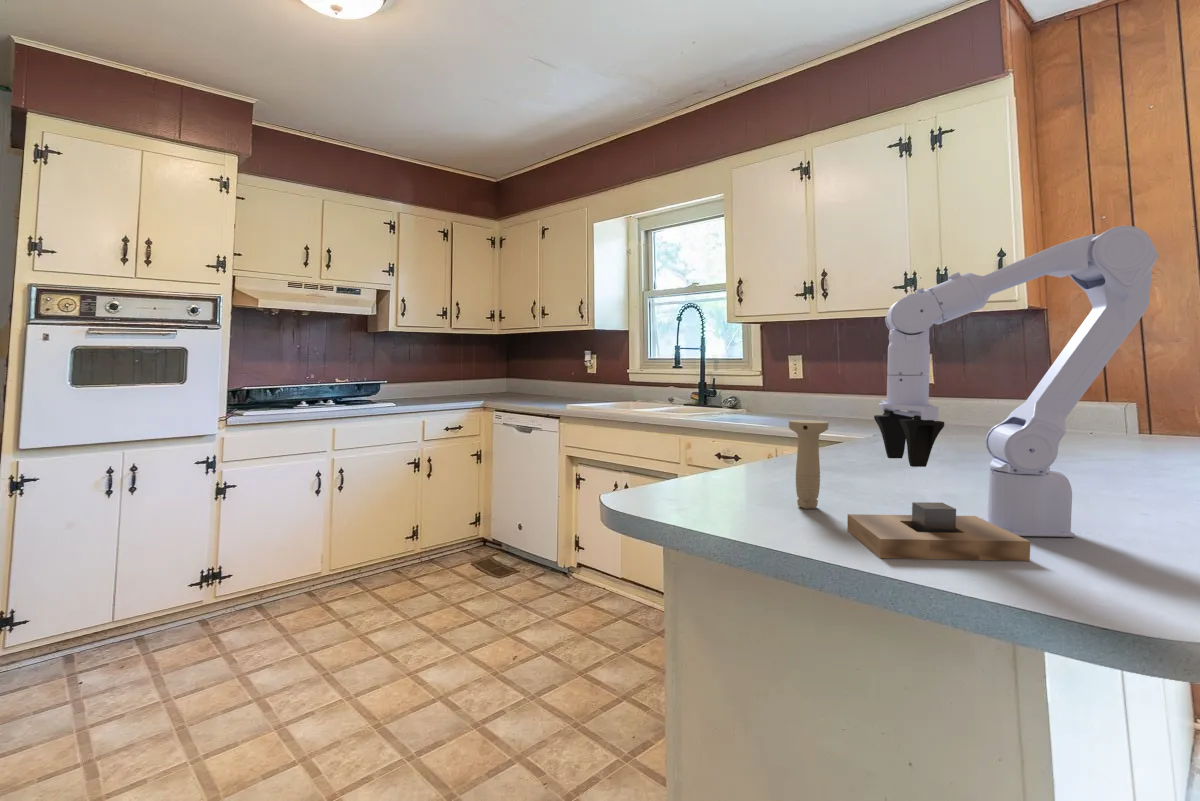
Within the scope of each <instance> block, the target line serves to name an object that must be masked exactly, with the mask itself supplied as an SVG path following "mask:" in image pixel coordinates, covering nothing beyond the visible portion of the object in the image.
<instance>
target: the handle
mask: <svg viewBox="0 0 1200 801" xmlns="http://www.w3.org/2000/svg"><path fill="white" fill-rule="evenodd" d="M829 423H830V422H829V421H825V420H815V419H813V420H812V419H810V420H809V419H793V420H792V419H791V420H788V428H789V429H790V431H792V432H794V433H796V434H797V453H796V467H795V491H796V495H797V496H796V497H797V498H798V499H797V500H796V501H797V502H796V503H797V507H799V508H802V509H805V510H808V509H809V510H810V509H811V510H812V509H813V510H814V509H817V507H818V504H819V500H818V499H819V495H820V494H819V493H820V489H821V488H820V487H821V467H820V466H821V465H820V449H819V448H820V444H819V443H820V441H819V440H820V435H821V434H823V433H825V432H826V431H828V429H829Z"/></svg>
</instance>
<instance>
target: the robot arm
mask: <svg viewBox="0 0 1200 801" xmlns="http://www.w3.org/2000/svg"><path fill="white" fill-rule="evenodd" d="M1158 258H1159V252H1158V251H1157V249H1156V246H1155V245H1154V243H1153V241H1152V239H1151V236H1149V235H1148V233H1147V232H1146V231H1144V230H1143V229H1141V228H1140V227H1136V226H1132V225H1119V226H1115V227H1112V228H1109V229H1107V230H1106V231H1105V230H1104V231H1103V232H1102V233H1101V234H1099V235H1097V233H1093V234H1089V235H1085V236H1081V237H1078V238H1073V239H1071V240H1068V241H1064V242H1062V243H1059V244H1056V245H1053V246H1050V247H1048V248H1046V249H1043V250H1041V251H1038V252H1036V253H1034V254H1032V255H1030V256H1027V257H1025V258H1023V259H1020V260H1018V261H1016V262H1013V263H1010V264H1007V265H1006V266H1003V267H1002V268H999V269H997V270H994V271H992V272H989V273H987V274H985V275H979V274H974V273H973V272H965V273H963V274H961V273H960V272H959V271H956V272H955V273H952V274H950V275H948V277H947V278H948V280H945V281H944V282H941V283H938V284H936V285H934V286H931V287H929V288H925V289H924V287H921V288H918V289H916V290H915V291H914V292H915V293H909V294H907V295H906V296H905V297H902V298H900V299H899V300H897V301H896V302H895V303H893V304H892V305H891V306H890V307H889V309H888V311H887V313H886V316H885V318H884V322H885V326H886V327H887V329H888V330H889V334H888V340H889V342H888V343H889V344H888V347H887V372H886V374H887V376H886V380H887V382H886V400H880V403H878V408H880V412H881V413H882V414H874V416H873V420H874V421H875V422H876V423H877V424H876V425H877V426H878V428H879V430H880V434H881V437H882V440H883V445H884V448H885V453H886V456H887V458H888V459H903V457H904V455H905V454H904V453H905V447H906V446H907V447H906V449H907V459H908V463H909V464H908V465H909V466H910V467H913V468H921V467H922V468H926V467H927V465H928V461H929V459H930V456H931V452H932V448H933V447H934V444H935V441H936V439H937V437H938V435H939V434H940V432H942V429H944V427H945V421H941V420H939V409H940V408H939V406H935V405H933V404H931V403H930V402H929V400H930V397H929V396H930V360H931V359H930V358H931V357H930V355H931V345H930V328H931V327H932V326H933V325H939V326H940V325H941V324H944V323H947V322H950V321H952V320H955V319H957V318H959V317H962V316H965V315H968V314H971V313H973V312H976V311H978V310H979V311H980V310H981V309H983V308H984V307H985V306H986V305H987V302H988V301H989V298H991V296H992V295H994V294H997V293H999V292H1003V291H1005V290H1008V289H1011V288H1014V287H1016V286H1019V285H1022V284H1024V283H1027V282H1031V281H1033V280H1035V279H1038V278H1041V277H1044V276H1050V277H1056V278H1061V279H1062V278H1064V277H1070V279H1071V280H1073V283H1076V285H1077V286H1078V287H1079V288H1080V289H1081V290H1082V291H1083V292H1084V293H1085V294H1086V296H1087V298H1088V300H1089V302H1090V305H1091V307H1092V308H1091V310H1090V312H1089V314H1088V315H1087V316H1086V317H1085V319H1084V320H1083V322H1082V323H1081V324H1080V326H1079V327H1078V328H1077V330H1076V331H1075V333H1074V334H1073V335H1072V337H1071V338H1070V339H1069V341H1068V342H1067V343H1066V345H1065V347H1063V349H1062V351H1061V352H1060V353H1059V355H1058V356H1057V357H1056V359H1055V360H1054V362H1053V363H1052V364H1051V366H1050V367H1049V368H1048V370H1047V371H1046V373H1045V374H1044V375H1043V377H1042V378H1041V379H1040V380H1039V383H1038V384H1037V385H1036V387H1035V388H1034V389H1033V390H1032V392H1031V393H1030V395H1029V396H1028V397H1027V399H1026V400H1025V401H1024V402H1023V403H1022V404H1021V405H1019V406H1018V407H1016V408H1014V410H1012V411H1011V412H1010V414H1009V415H1008V416H1007V417H1006V418H1005V419H1004V420H1003V421H1002V422H1000V423H998V424H996V425H994V426H992V427H991V429H989V431H988V432H987V434H986V437H985V441H984V443H985V448H986V450H987V452H988V454H990V456H992V457H993V458H992V460H991V462H990V463H989V465H988V488H987V489H988V490H987V491H988V492H987V493H988V494H987V495H988V496H987V517H980V518H981V519H983V520H985V521H987V522H990V523H992V524H994V525H996V526H998V527H1000V528H1003V529H1005V530H1007V531H1009V532H1011V533H1013V534H1016V535H1018V536H1020V537H1063V538H1064V537H1065V538H1066V537H1067V538H1068V537H1070V538H1071V537H1075V536H1076V535H1075V533H1074V532H1072V508H1073V489H1072V486H1071V483H1070V481H1069V478H1068V477H1067V476H1066V475H1065V474H1063V473H1062V472H1061V471H1056V470H1051V467H1050V466H1052V465H1053V464H1054V463H1055V461H1056V459H1057V457H1058V454H1059V452H1058V451H1059V446H1060V442H1061V441H1062V439H1063V438H1064V436H1065V435H1066V432H1067V431H1066V428H1067V426H1066V419H1067V417H1068V416H1069V415H1070V414H1071V412H1072V411H1073V409H1074V408H1075V407H1076V405H1077V404H1078V403H1079V401H1080V400H1081V399H1082V397H1083V396H1084V394H1085V393H1086V392H1087V390H1088V389H1089V388H1090V387H1091V385H1092V384H1093V383H1094V382H1095V380H1096V378H1098V376H1099V374H1100V373H1101V372H1102V370H1103V369H1104V368H1105V367H1106V365H1107V364H1108V362H1109V361H1110V360H1111V359H1112V357H1113V356H1114V354H1115V353H1116V352H1117V350H1118V349H1119V348H1120V347H1121V345H1122V344H1123V342H1124V341H1125V340H1126V338H1127V337H1128V336H1129V334H1130V333H1132V331H1133V329H1134V328H1135V326H1136V325H1137V324H1138V322H1139V321H1140V320H1141V318H1142V317H1143V316H1144V314H1145V313H1146V312H1147V309H1148V308H1149V306H1150V299H1151V298H1150V296H1151V285H1152V284H1151V283H1152V272H1153V268H1154V266H1155V263H1156V262H1157V260H1158Z"/></svg>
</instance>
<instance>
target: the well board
mask: <svg viewBox="0 0 1200 801" xmlns="http://www.w3.org/2000/svg"><path fill="white" fill-rule="evenodd" d="M981 518H982V517H979V516H976V515H956V533H938V532H916V531H915V530H913V529H912V514H865V513H864V514H847V523H846V524H847V525H846V527H847V528H846V529H847V532H848V533H849V534H851V535H852V536H853V537H854V538H855V539H856V540H858V541H859V542H860V543H861V544H862V545H864V546H865V547H866V548H867V549H868V550H870V551H871V552H872V553H873V554H874V555H876V557H878V558H880V559H899V560H900V559H902V560H903V559H905V560H906V559H907V560H908V559H909V560H911V559H912V560H954V561H955V560H959V561H961V560H962V561H963V560H964V561H965V560H967V561H972V560H973V561H1006V562H1007V561H1009V562H1010V561H1014V562H1018V561H1019V562H1029V561H1031V541H1030V540H1028V539H1026V538H1024V537H1023V536H1018V535H1016V534H1013V533H1011V532H1009V531H1007V530H1005V529H1003V528H1000V527H998V526H996V525H994V524H992V523H990V522H987V521H985V520H983V519H981Z"/></svg>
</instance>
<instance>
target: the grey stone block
mask: <svg viewBox="0 0 1200 801" xmlns="http://www.w3.org/2000/svg"><path fill="white" fill-rule="evenodd" d="M911 515H912V529H913V530H915V531H916V532H938V533H956V516H957V508H955V507H953V506H951V505H948V504H946V503H944V502H931V501H930V502H918V501H917V502H912V503H911Z"/></svg>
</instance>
